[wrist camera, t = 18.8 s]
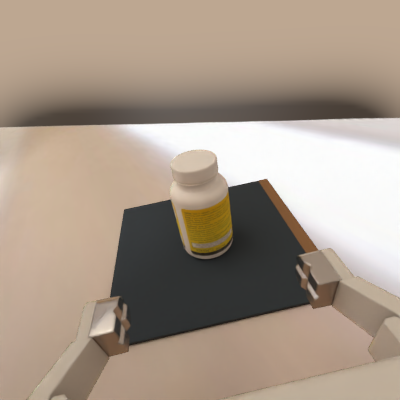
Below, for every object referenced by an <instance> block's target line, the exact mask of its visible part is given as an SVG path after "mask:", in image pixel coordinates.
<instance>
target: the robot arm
mask: <svg viewBox="0 0 400 400" xmlns="http://www.w3.org/2000/svg"><path fill="white" fill-rule="evenodd" d="M296 261H297V263H298V265H297V266H296V267H295V274H296V278H297V280H298V283H299V284H300V286H301V287H302V288H303V289H305V290H306V297H307V299H308V301H309V302H310V304H311V306H312V308H313V309H315V308H320V307H325V306H330V305H332V307H334V308H335V309H336V310H338V311H339V312H340V313H342V314H343V315H344V316H346V317H347V318H348V319H350V320H351V321H352V322H354V323H355V324H356V325H358V326H359V327H360V328H362V329H363V330H364V331H366V332H367V333H368V334H370V335H371V336H372V337H374V339H373V341H372V342H371V344H370V346H369V349H368V351H369V352H370V354H371V356H372V357H373V359H374V360H375V362H372V363H367V364H363V365H359V366H355V367H351V368H347V369H343V370H338V371H334V372H330V373H326V374H322V375H318V376H314V377H309V378H305V379H301V380H297V381H293V382H289V383H285V384H280V385H276V386H272V387H268V388H264V389H260V390H255V391H251V392H247V393H243V394H239V395H235V396H231V397H226V398H222V399H218V400H400V298H398V297H396V296H395V295H393V294H391V293H389V292H387V291H385V290H383V289H381V288H379V287H377V286H375V285H373V284H372V283H370V282H368V281H366V280H364V279H362V278H360V277H354V276H353V274H352V273H351V272H350V271H349V269H348V268H347V267H346V266H345V264H344V263H343V262H342V261H341V259H340V258H339V257H338V256H337V254H336V253H335V252H334V251H333V250H332V249H331V248H328V249H324V250H320V251H314V252H310V253H306V254H302V255H298V256H297V259H296ZM130 326H131V315H130V310H129V307H128V306H127V305H126V304H124V299H123V297H122V296H116V297H111V298H106V299H102V300H96V301H92V302H87V303H86V304H85V306H84V308H83V312H82V316H81V320H80V324H79V328H78V332H77V336H76V340H75V341H74V342H71V344H70V345H69V346H68V348H67V349H66V350H65V351H64V353H63V354H62V355H61V356H60V358H59V359H58V360H57V362H56V363H55V364H54V365H53V367H52V368H51V369H50V371H49V372H48V373H47V374H46V376H45V377H44V378H43V379H42V381H41V382H40V383H39V385H38V386H37V387H36V388H35V390H34V391H33V392H32V394H31V395H30V396H29V397H28V399H27V400H87V398H88V396H89V394H90V393H91V391H92V389H93V387H94V385H95V384H96V382H97V380H98V378H99V376H100V374H101V373H102V371H103V369H104V367H105V365H106V363H107V362H108V360H109V357H110V356H114V355H118V354H122V353H125V352H128V351H129V339H130V336H129V334H128V332H127V330H128V329H129V327H130Z"/></svg>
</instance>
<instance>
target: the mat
mask: <svg viewBox="0 0 400 400" xmlns="http://www.w3.org/2000/svg"><path fill="white" fill-rule="evenodd" d="M228 191H229V202H230V212H231V221H232V230H233V241H232V244H231V246H230V247H229V249H228V250H227V251H226V252H225V253H223V254H222V255H220V256H218V257H215V258H211V259H200V258H196V257H193V256H191V255H190V254H189V253H188V252H187V251H186V250H185V248H184V246H183V243H182V239H181V236H180V232H179V228H178V224H177V221H176V217H175V213H174V209H173V206H172V202H171V200H167V201H162V202H158V203H153V204H148V205H144V206H139V207H134V208H130V209H125V210H124V214H123V221H122V227H121V233H120V239H119V246H118V252H117V258H116V264H115V270H114V277H113V283H112V289H111V295H110V298H111V297H116V296H122V297H123V299H124V304H126V305H127V306H128V307H129V310H130V315H131V326H130V327H129V329H128V330H127V332H128V334H129V336H130V339H129V345H132V344H137V343H141V342H145V341H149V340H154V339H158V338H162V337H167V336H171V335H175V334H180V333H184V332H188V331H193V330H197V329H201V328H206V327H210V326H214V325H219V324H223V323H227V322H232V321H236V320H240V319H244V318H249V317H253V316H257V315H262V314H266V313H270V312H275V311H279V310H283V309H288V308H292V307H296V306H301V305H305V304H309V303H310V302H309V301H308V299H307V297H306V290H305V289H303V288H302V287H301V286H300V284H299V283H298V280H297V278H296V274H295V267H296V266H297V265H298V263H297V261H296V259H297V256H298V255H302V254H306V253H310V252H314V251H319V250H318V249H317V248H316V246H315V245H314V244H313V242H312V241H311V239H310V238H309V237H308V235H307V234H306V233H305V231H304V230H303V228H302V227H301V226H300V224H299V223H298V222H297V220H296V219H295V217H294V216H293V215H292V213H291V212H290V210H289V209H288V208H287V206H286V205H285V204H284V202H283V201H282V199H281V198H280V197H279V195H278V194H277V193H276V191H275V190H274V188H273V187H272V186H271V184H270V183H269V181H268V180H267V179H264V180H259V181H256V182H251V183H246V184H242V185H237V186H232V187H228Z"/></svg>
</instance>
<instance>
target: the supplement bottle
mask: <svg viewBox="0 0 400 400" xmlns="http://www.w3.org/2000/svg"><path fill="white" fill-rule="evenodd" d="M170 166H171V170H172V175H173V179H174V182H173V183H172V185H171V187H170V198H171V202H172V206H173V209H174V213H175V217H176V221H177V224H178V228H179V232H180V236H181V239H182V243H183V246H184V248H185V250H186V251H187V252H188V253H189V254H190V255H191V256H193V257H196V258H200V259H211V258H215V257H218V256H220V255H222V254H223V253H225V252H226V251H227V250H228V249H229V247H230V246H231V244H232V241H233V230H232V221H231V212H230V202H229V191H228V185H227V182H226V180H225V178H224V177H223V176H222V175H221V174H219V173H218V165H217V157H216V155H215V154H214V153H213V152H211V151H207V150H192V151H188V152H184V153H182V154H180V155H178V156H176V157H175V158H174V159H173V160H172V161H171V165H170Z"/></svg>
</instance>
